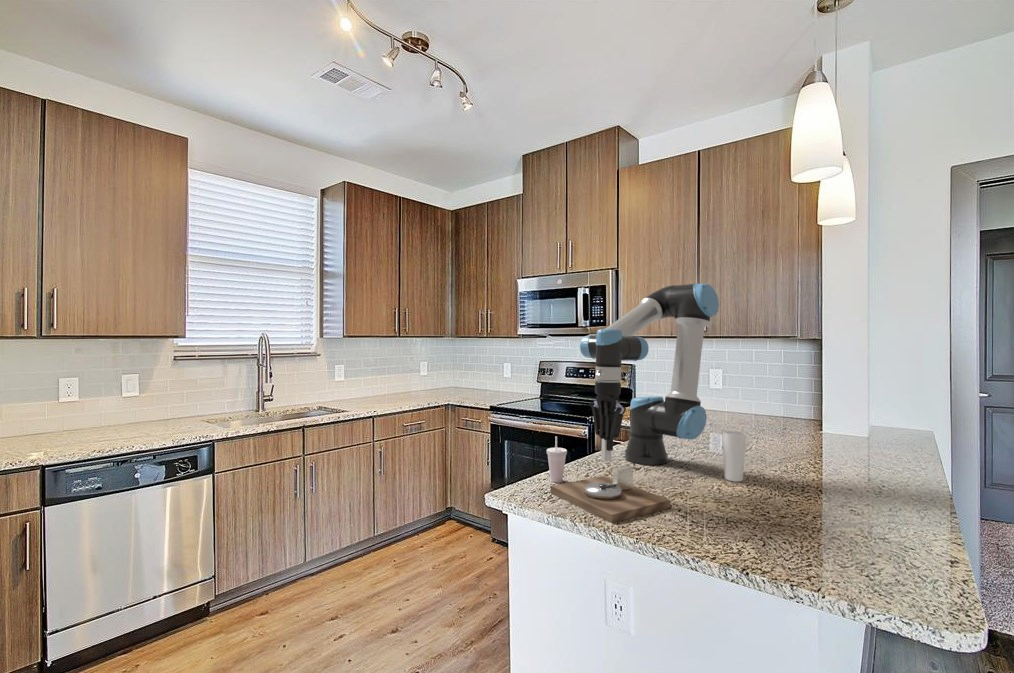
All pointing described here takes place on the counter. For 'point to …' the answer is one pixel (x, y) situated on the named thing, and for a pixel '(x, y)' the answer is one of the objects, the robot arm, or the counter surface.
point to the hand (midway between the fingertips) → (606, 460)
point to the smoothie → (556, 462)
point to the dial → (608, 490)
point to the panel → (611, 500)
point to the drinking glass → (734, 455)
